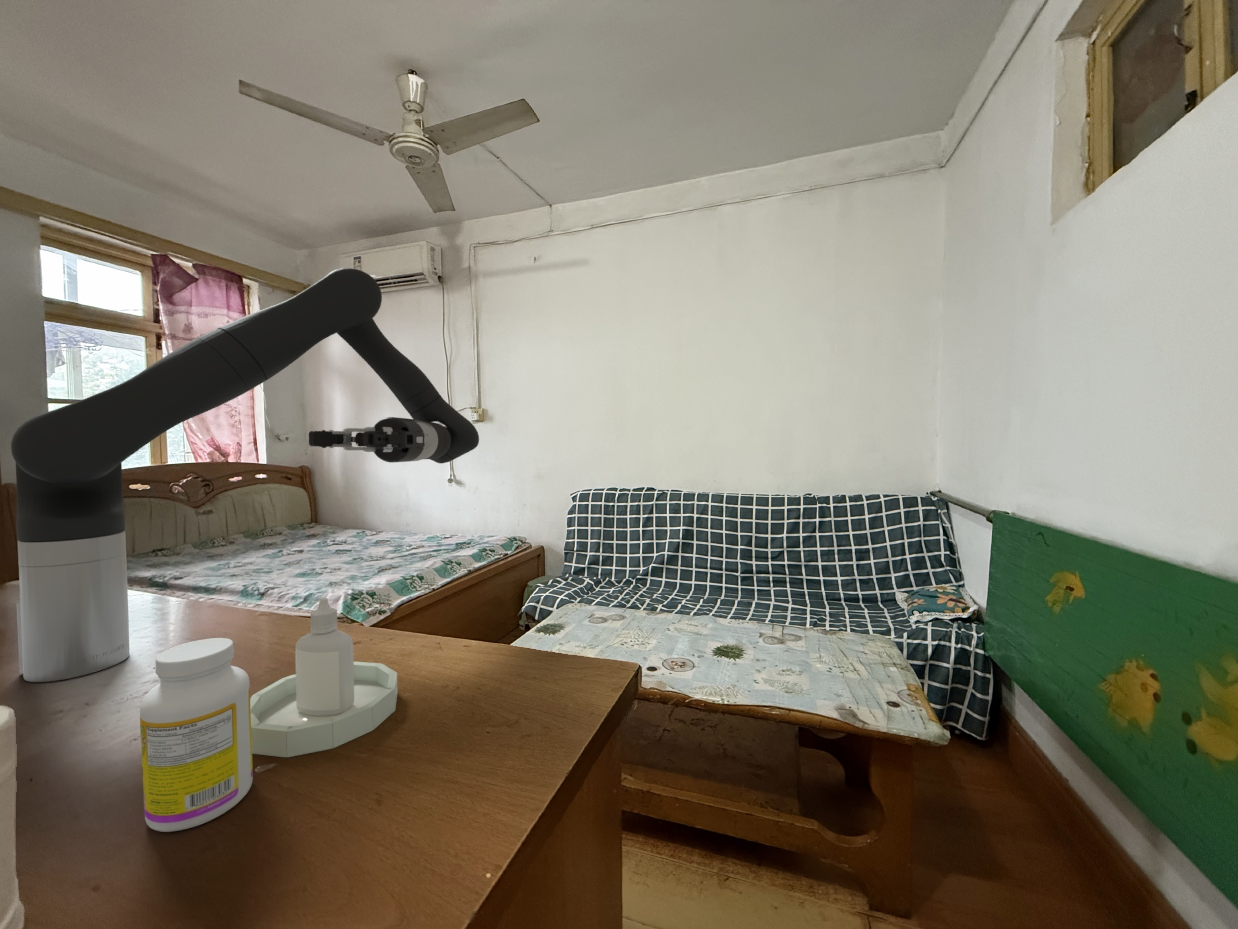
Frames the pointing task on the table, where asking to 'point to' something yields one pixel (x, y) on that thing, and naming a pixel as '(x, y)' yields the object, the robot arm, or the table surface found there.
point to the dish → (299, 733)
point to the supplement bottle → (195, 736)
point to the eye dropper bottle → (324, 666)
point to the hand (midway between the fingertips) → (338, 438)
